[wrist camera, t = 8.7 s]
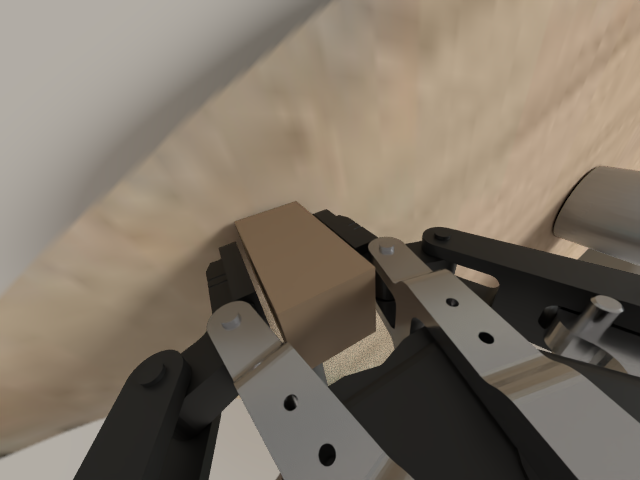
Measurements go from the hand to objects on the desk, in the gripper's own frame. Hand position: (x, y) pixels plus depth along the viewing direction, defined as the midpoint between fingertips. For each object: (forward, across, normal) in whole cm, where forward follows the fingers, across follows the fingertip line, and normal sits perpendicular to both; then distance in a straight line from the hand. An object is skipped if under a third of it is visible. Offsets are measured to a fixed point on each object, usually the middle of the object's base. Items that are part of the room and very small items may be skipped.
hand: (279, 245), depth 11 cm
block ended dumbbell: (+1, 0, +11) cm, 11 cm away
